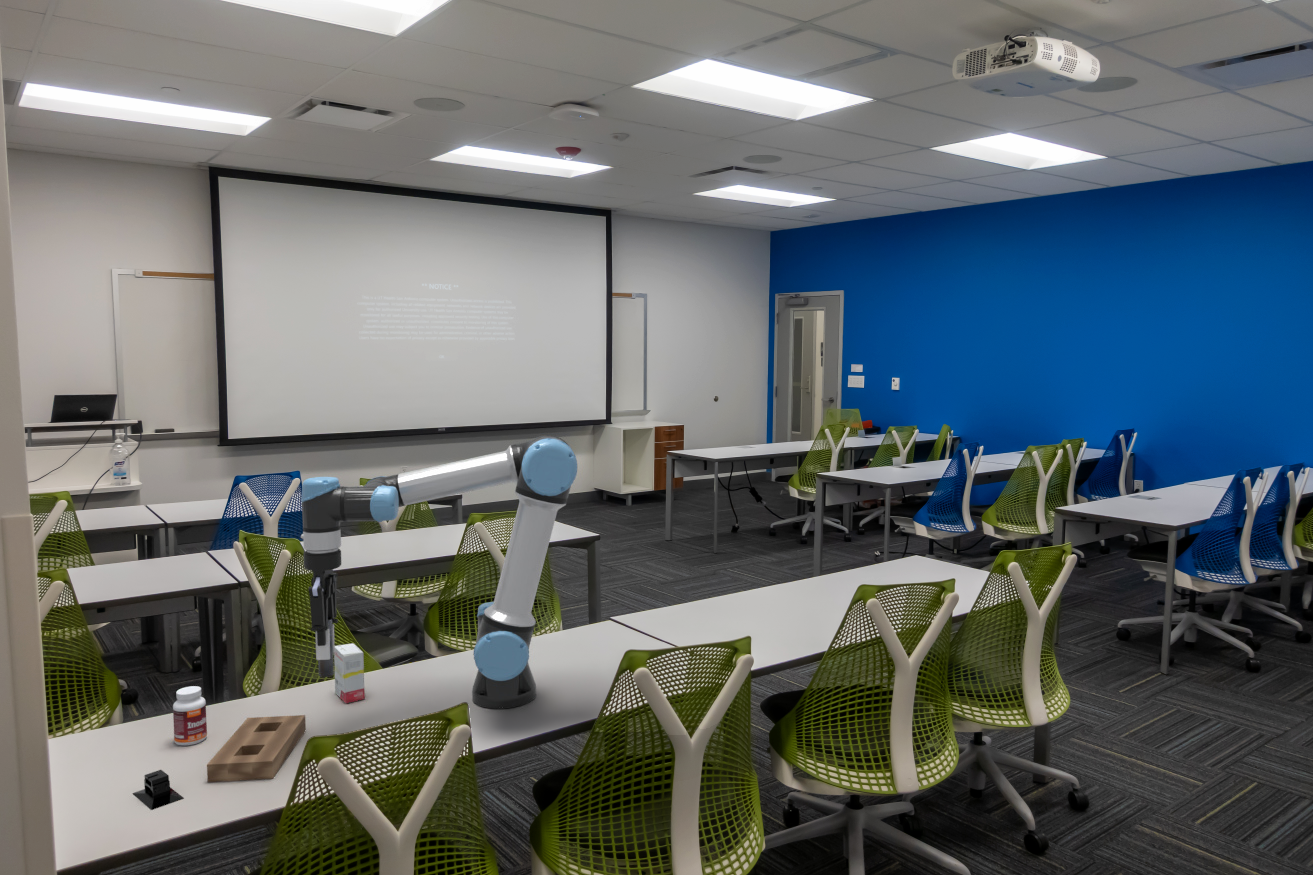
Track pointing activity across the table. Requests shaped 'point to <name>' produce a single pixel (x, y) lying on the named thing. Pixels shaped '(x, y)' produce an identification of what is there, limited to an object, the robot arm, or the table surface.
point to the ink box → (349, 673)
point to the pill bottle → (189, 716)
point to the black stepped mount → (157, 791)
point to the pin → (327, 665)
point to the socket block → (257, 749)
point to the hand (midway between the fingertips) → (325, 656)
